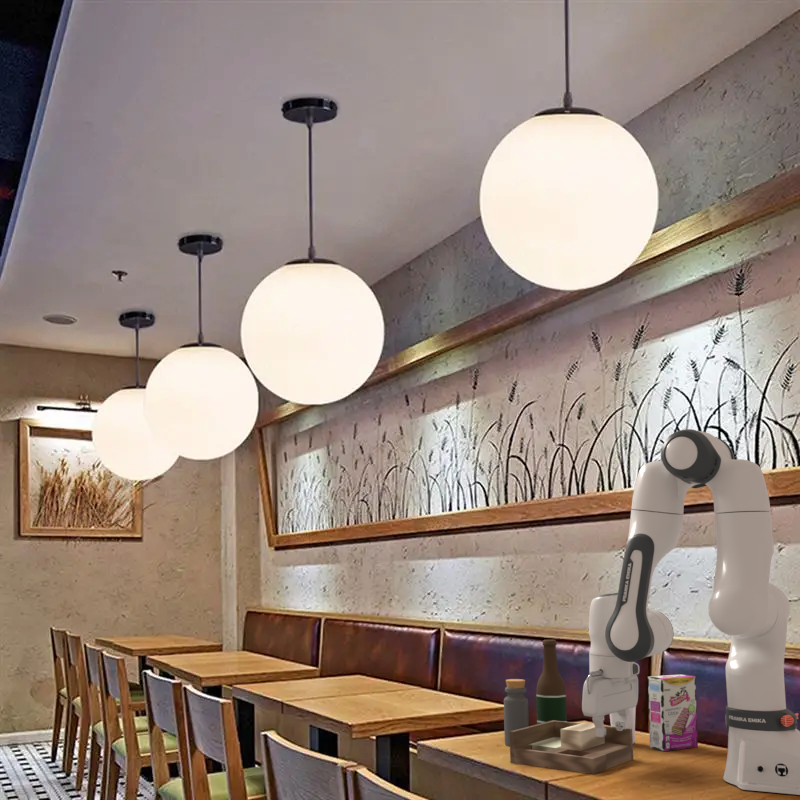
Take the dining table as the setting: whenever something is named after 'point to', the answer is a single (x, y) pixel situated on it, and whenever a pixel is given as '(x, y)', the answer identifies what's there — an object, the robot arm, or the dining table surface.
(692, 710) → the candy bar box
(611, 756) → the brown compartment tray
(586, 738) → the cream rectangular block
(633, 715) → the drinking glass
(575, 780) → the dining table surface
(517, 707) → the bottle
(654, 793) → the dining table surface
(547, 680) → the beer bottle
